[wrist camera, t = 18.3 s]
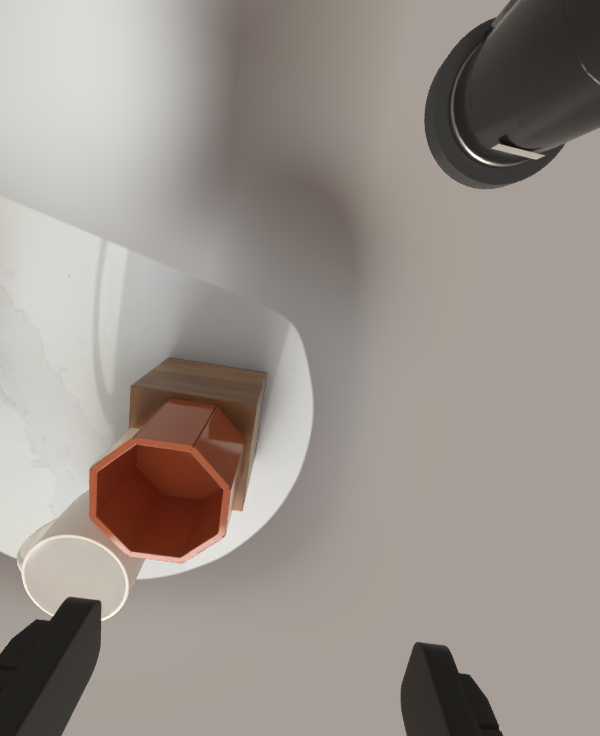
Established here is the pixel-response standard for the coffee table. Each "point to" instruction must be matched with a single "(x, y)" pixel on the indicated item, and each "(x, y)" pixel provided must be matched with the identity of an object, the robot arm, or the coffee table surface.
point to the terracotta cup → (169, 482)
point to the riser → (207, 400)
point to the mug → (76, 563)
